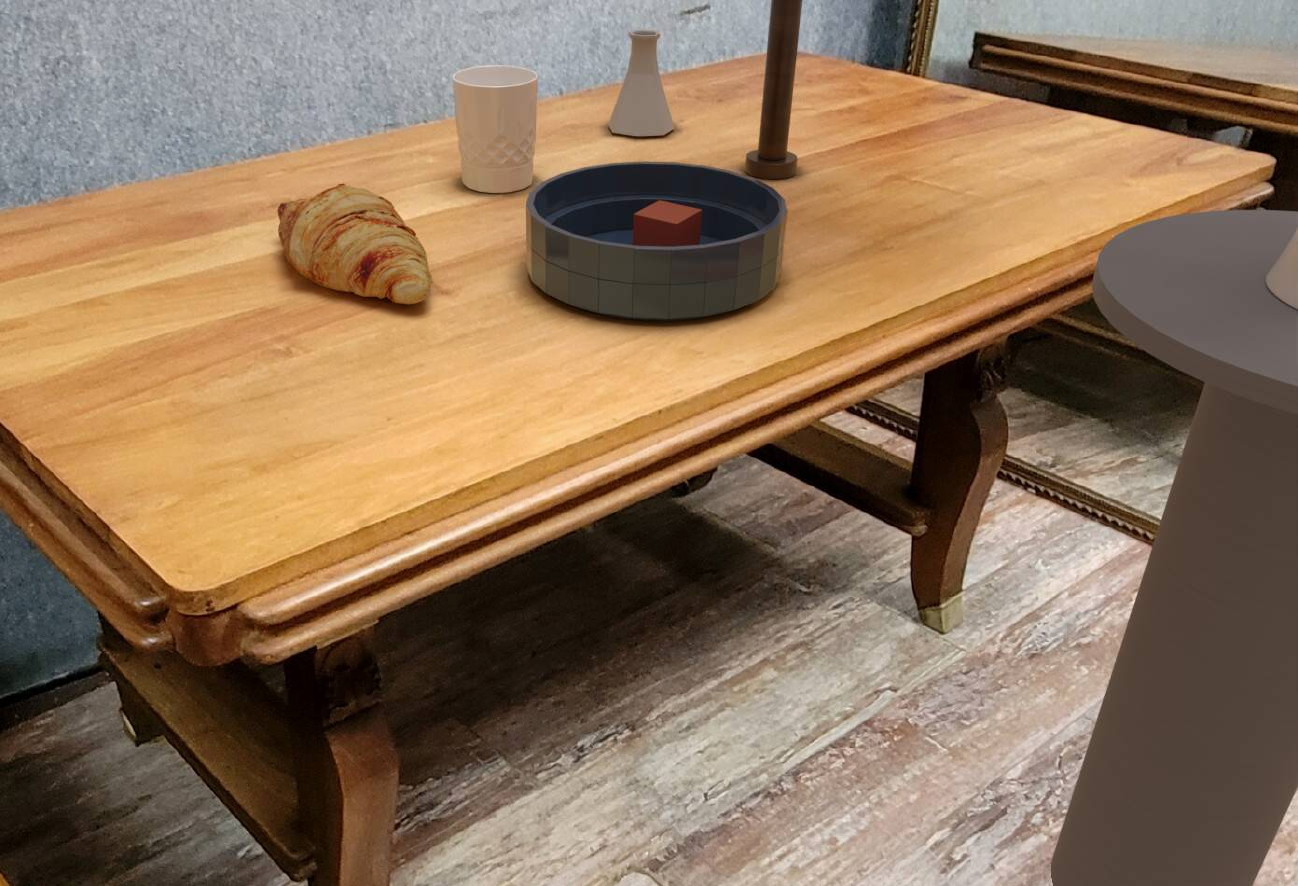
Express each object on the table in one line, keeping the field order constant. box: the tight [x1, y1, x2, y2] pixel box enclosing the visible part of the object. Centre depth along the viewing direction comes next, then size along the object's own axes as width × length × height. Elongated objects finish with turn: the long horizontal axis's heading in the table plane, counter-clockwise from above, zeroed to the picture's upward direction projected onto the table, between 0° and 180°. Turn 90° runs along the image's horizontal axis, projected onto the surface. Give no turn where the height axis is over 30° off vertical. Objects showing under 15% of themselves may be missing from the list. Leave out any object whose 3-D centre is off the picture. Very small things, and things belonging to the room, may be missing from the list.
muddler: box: [744, 0, 803, 180], centre depth 117 cm, size 5×5×18 cm
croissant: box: [277, 183, 433, 305], centre depth 99 cm, size 21×10×8 cm, turn 40°
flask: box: [607, 28, 675, 137], centre depth 131 cm, size 7×7×10 cm
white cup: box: [451, 64, 539, 194], centre depth 116 cm, size 8×8×10 cm
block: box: [633, 200, 702, 247], centre depth 100 cm, size 4×4×4 cm
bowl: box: [525, 160, 788, 322], centre depth 98 cm, size 20×20×6 cm
